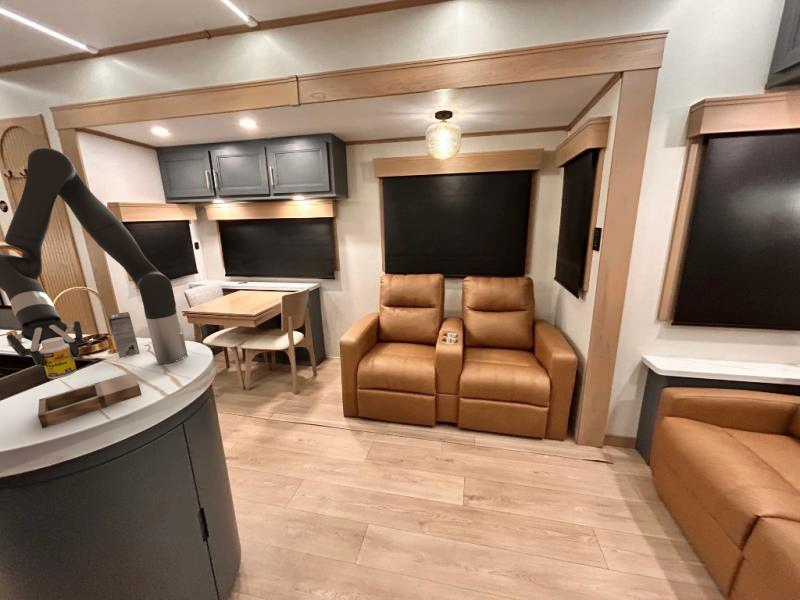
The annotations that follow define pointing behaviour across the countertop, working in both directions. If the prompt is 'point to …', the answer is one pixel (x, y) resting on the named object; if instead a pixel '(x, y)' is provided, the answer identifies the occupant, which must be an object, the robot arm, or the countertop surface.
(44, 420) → the cup caddy
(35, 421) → the countertop surface
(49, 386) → the countertop surface
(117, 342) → the coffee box
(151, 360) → the countertop surface
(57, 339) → the supplement bottle
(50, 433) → the countertop surface
